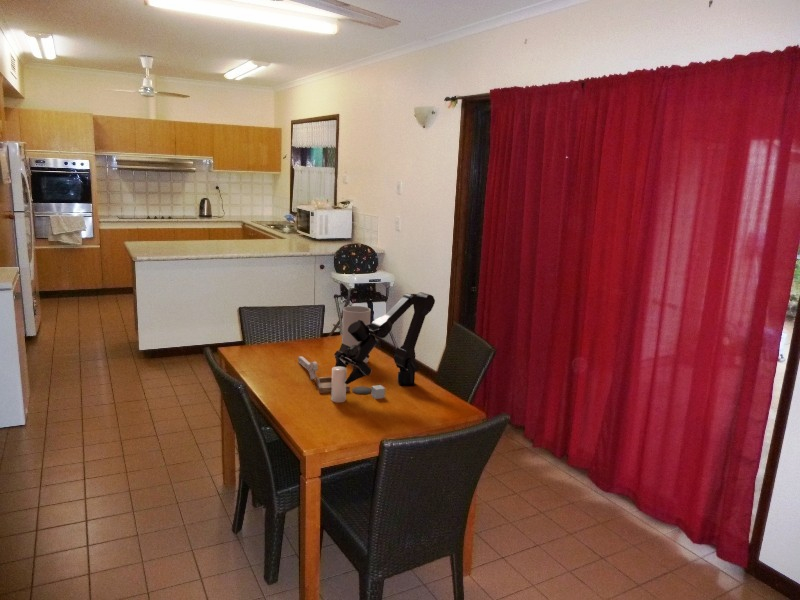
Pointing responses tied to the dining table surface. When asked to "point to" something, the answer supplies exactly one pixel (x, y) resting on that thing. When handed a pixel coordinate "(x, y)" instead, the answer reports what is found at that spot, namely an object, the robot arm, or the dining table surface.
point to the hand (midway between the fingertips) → (339, 380)
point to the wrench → (309, 366)
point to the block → (378, 392)
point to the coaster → (362, 390)
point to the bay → (326, 384)
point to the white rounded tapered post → (338, 384)
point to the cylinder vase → (351, 316)
